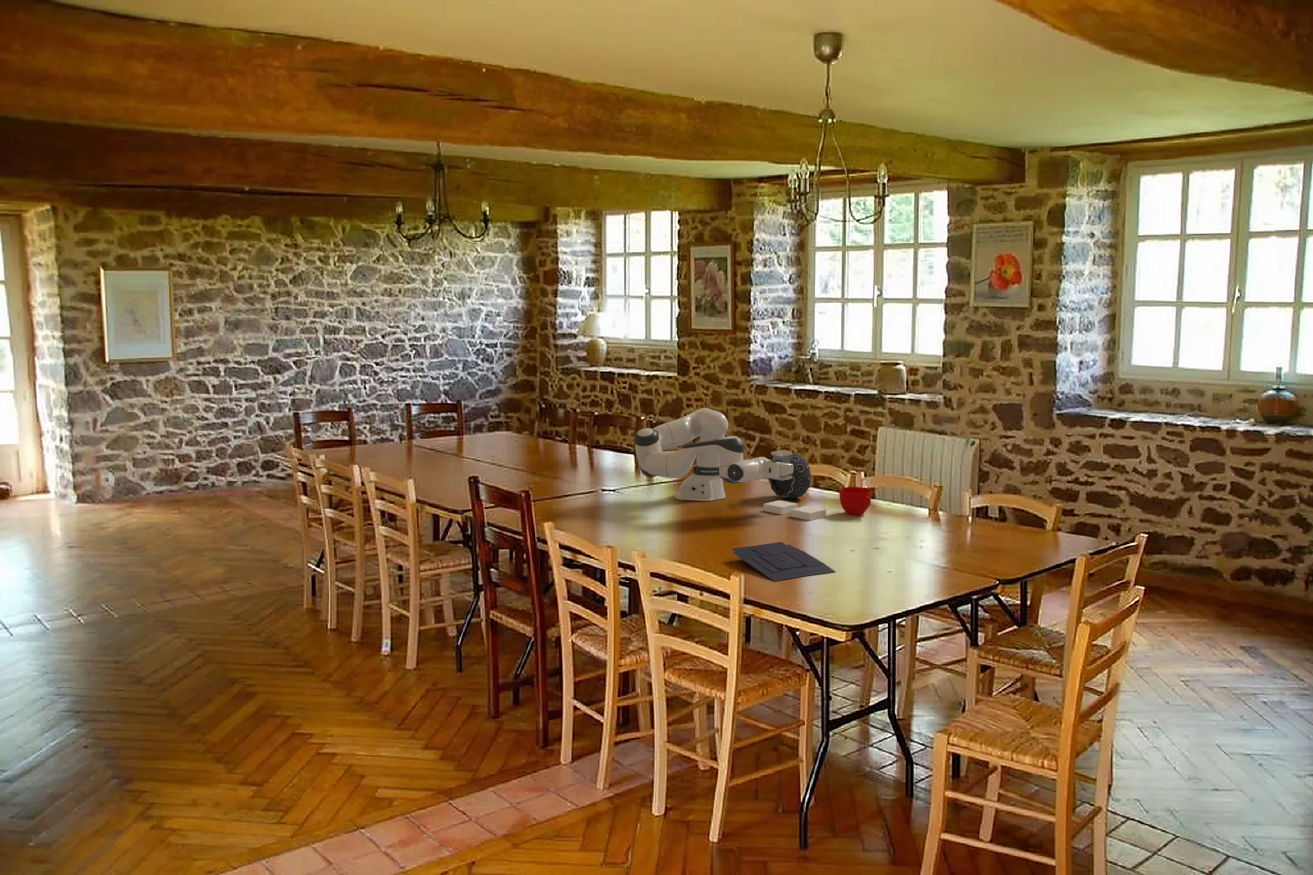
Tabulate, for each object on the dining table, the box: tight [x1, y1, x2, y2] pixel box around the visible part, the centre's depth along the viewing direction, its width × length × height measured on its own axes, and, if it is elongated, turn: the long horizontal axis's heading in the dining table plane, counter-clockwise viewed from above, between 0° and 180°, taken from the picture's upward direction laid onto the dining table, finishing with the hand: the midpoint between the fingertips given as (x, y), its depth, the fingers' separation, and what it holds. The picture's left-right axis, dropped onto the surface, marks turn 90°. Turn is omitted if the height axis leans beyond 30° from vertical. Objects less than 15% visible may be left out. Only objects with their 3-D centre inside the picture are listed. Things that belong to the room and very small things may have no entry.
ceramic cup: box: [838, 486, 872, 517], centre depth 426 cm, size 13×17×10 cm
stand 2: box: [790, 505, 827, 521], centre depth 424 cm, size 10×10×3 cm
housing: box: [770, 449, 793, 481], centre depth 433 cm, size 6×6×11 cm
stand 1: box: [763, 500, 799, 515], centre depth 435 cm, size 10×10×3 cm
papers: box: [731, 541, 836, 582], centre depth 350 cm, size 24×30×4 cm
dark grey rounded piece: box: [767, 452, 812, 500], centre depth 459 cm, size 11×20×20 cm, turn 31°
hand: (782, 464), depth 433 cm, fingers closed on housing, 5 cm apart
